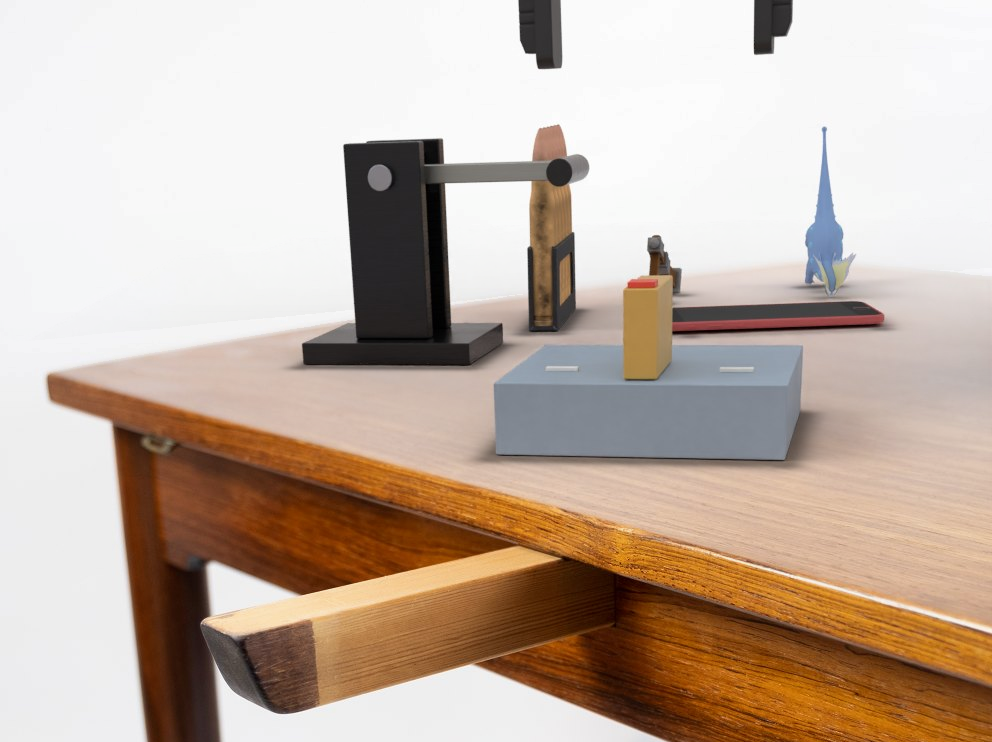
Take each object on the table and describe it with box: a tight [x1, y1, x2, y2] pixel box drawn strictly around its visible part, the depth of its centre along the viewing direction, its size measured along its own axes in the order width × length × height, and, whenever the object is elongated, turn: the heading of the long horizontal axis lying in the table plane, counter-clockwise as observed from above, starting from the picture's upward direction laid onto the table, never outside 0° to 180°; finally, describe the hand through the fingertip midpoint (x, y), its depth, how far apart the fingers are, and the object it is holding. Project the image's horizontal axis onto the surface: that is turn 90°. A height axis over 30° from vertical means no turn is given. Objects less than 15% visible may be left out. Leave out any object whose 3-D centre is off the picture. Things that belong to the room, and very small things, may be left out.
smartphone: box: [672, 300, 885, 332], centre depth 95 cm, size 7×1×14 cm
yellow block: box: [622, 275, 674, 380], centre depth 63 cm, size 5×1×4 cm, turn 166°
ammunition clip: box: [526, 124, 577, 332], centre depth 98 cm, size 11×2×12 cm, turn 170°
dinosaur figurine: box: [804, 126, 857, 298], centre depth 109 cm, size 3×15×10 cm
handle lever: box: [424, 153, 590, 187], centre depth 85 cm, size 12×5×2 cm, turn 75°
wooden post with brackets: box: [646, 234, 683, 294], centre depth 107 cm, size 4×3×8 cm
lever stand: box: [301, 137, 504, 366], centre depth 88 cm, size 10×8×12 cm
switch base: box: [493, 344, 804, 461], centre depth 66 cm, size 12×10×3 cm
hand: (654, 61), depth 60 cm, fingers open, 8 cm apart
